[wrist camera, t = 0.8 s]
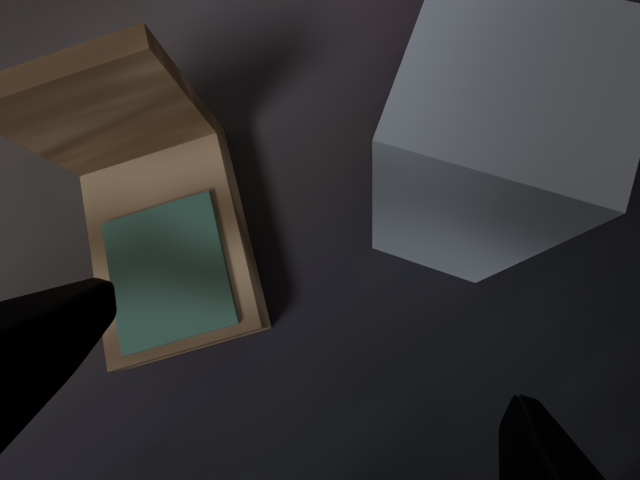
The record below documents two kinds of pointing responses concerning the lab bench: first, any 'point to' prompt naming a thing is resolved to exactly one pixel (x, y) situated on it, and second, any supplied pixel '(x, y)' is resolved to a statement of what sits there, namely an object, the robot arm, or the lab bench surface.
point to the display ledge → (144, 191)
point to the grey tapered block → (507, 131)
